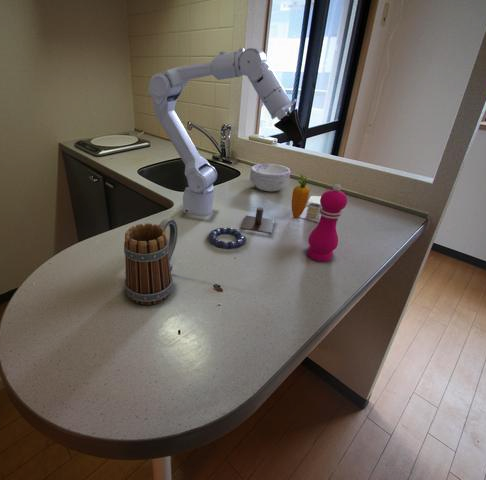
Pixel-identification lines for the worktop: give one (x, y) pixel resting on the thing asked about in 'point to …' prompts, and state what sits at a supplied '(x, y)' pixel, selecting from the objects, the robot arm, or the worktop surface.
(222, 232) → the ring
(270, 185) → the paper bowls
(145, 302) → the mug
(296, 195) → the carrot
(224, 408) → the worktop surface
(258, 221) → the post
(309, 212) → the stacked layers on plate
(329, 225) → the pepper mill
